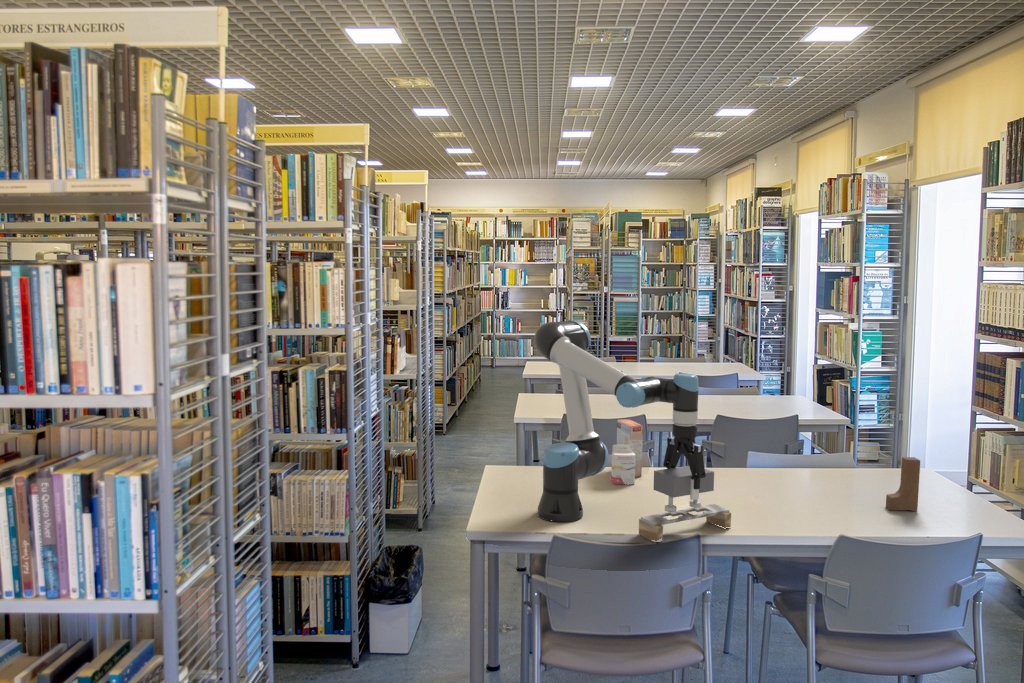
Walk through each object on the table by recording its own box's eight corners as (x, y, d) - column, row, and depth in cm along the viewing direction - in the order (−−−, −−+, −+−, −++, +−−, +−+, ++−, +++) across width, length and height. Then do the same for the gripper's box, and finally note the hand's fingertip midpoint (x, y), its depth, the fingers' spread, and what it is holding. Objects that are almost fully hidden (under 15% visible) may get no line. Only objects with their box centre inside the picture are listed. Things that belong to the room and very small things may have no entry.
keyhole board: (656, 543, 225) (656, 524, 224) (638, 534, 232) (639, 516, 232) (730, 528, 239) (731, 510, 238) (712, 520, 246) (712, 503, 246)
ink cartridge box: (612, 485, 287) (613, 447, 285) (610, 481, 292) (611, 444, 290) (635, 485, 287) (636, 447, 286) (632, 481, 292) (633, 444, 290)
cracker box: (642, 477, 298) (643, 425, 296) (628, 478, 297) (629, 425, 295) (629, 468, 311) (630, 418, 310) (615, 468, 310) (616, 419, 308)
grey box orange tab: (672, 516, 226) (673, 476, 225) (653, 507, 234) (654, 468, 233) (713, 508, 234) (714, 469, 233) (692, 500, 242) (693, 463, 241)
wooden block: (890, 510, 259) (893, 459, 257) (885, 506, 263) (888, 456, 261) (917, 511, 258) (920, 460, 256) (911, 507, 262) (914, 457, 261)
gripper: (719, 429, 224) (717, 502, 226) (671, 416, 243) (669, 484, 245) (700, 431, 220) (698, 506, 222) (652, 418, 240) (651, 487, 242)
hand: (683, 494), depth 234 cm, fingers closed on grey box orange tab, 9 cm apart
